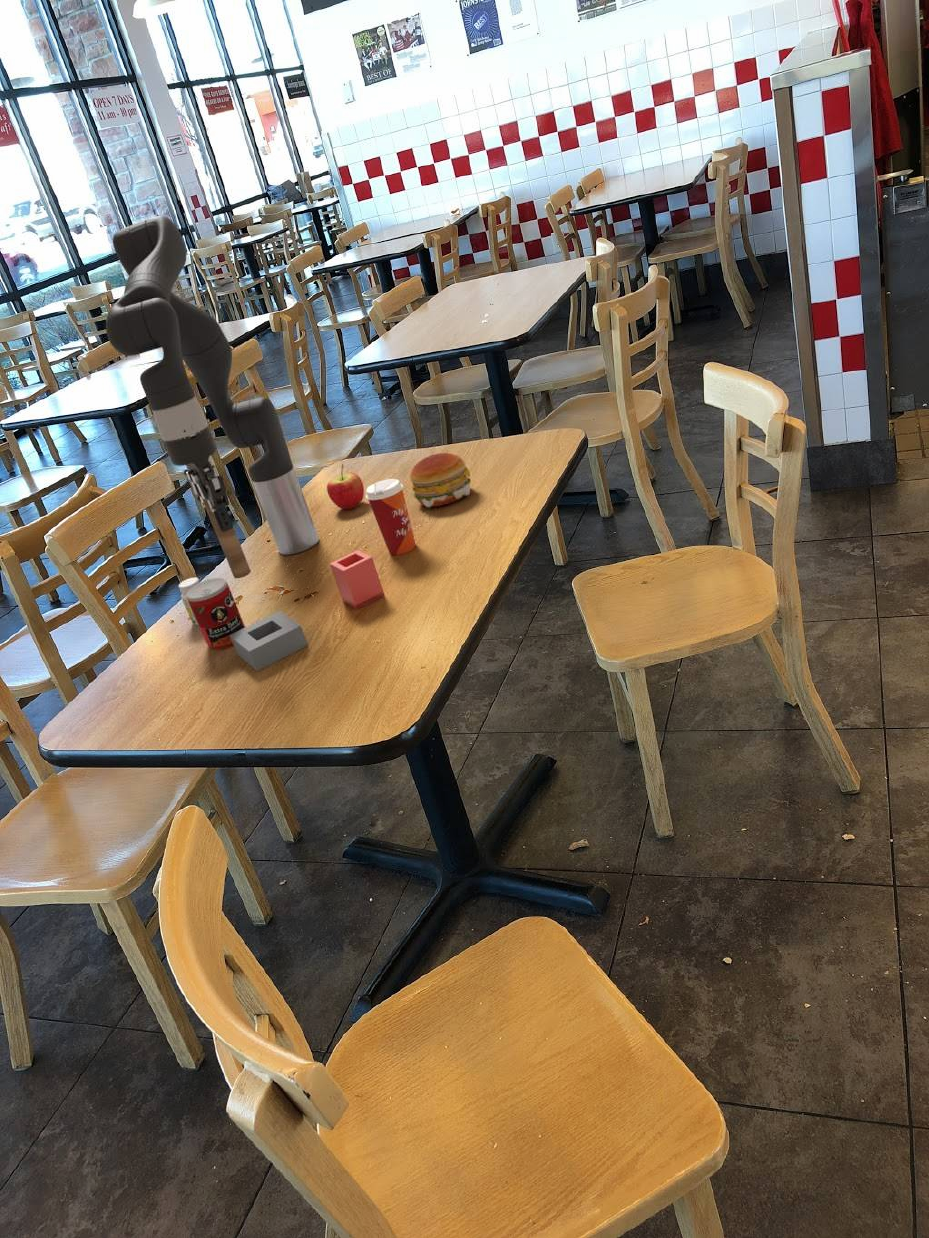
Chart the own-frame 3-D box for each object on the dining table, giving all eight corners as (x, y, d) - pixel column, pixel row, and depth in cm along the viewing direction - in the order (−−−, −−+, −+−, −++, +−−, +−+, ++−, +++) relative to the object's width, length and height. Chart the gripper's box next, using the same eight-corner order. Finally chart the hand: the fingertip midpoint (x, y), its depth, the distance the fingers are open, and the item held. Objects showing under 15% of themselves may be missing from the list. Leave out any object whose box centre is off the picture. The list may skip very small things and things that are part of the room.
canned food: (213, 655, 180) (190, 602, 175) (203, 641, 187) (181, 590, 182) (252, 637, 183) (231, 585, 178) (241, 624, 189) (220, 573, 184)
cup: (343, 601, 186) (329, 563, 183) (370, 587, 189) (357, 550, 185) (356, 609, 181) (343, 570, 178) (384, 595, 184) (371, 557, 180)
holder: (237, 654, 178) (229, 635, 176) (286, 629, 182) (279, 610, 180) (257, 671, 170) (248, 651, 168) (308, 645, 174) (300, 625, 172)
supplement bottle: (220, 612, 197) (204, 575, 193) (208, 624, 193) (191, 587, 190) (200, 614, 199) (185, 577, 195) (188, 626, 195) (171, 589, 191)
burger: (440, 485, 230) (428, 445, 226) (486, 486, 222) (475, 444, 217) (405, 510, 221) (392, 469, 217) (452, 512, 213) (440, 468, 209)
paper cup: (415, 554, 197) (395, 489, 191) (380, 560, 199) (359, 496, 193) (424, 537, 204) (405, 474, 198) (390, 543, 206) (370, 481, 200)
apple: (375, 498, 234) (362, 459, 229) (354, 514, 228) (340, 474, 223) (349, 499, 238) (336, 460, 234) (327, 514, 233) (313, 475, 228)
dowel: (231, 575, 170) (198, 495, 163) (247, 568, 171) (215, 488, 164) (237, 579, 167) (204, 498, 161) (253, 572, 168) (221, 491, 162)
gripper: (150, 433, 162) (190, 529, 169) (175, 444, 150) (216, 545, 158) (192, 417, 165) (230, 511, 172) (220, 426, 153) (259, 526, 161)
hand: (223, 527), depth 165 cm, fingers closed on dowel, 3 cm apart
